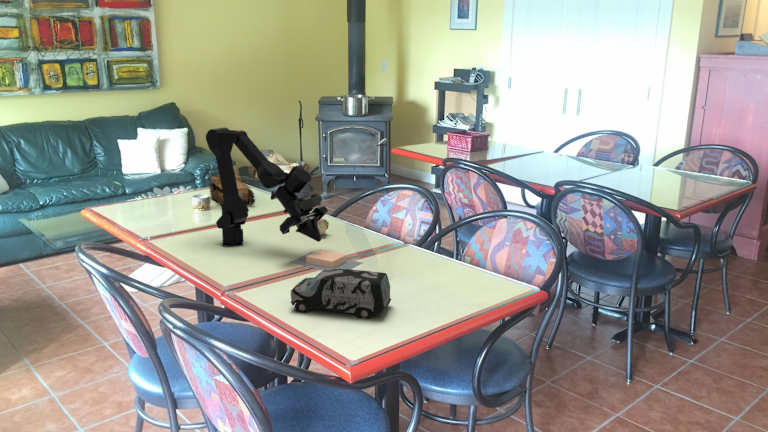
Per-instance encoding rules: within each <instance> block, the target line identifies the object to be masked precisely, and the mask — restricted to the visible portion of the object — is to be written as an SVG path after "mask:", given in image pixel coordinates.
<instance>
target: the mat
mask: <svg viewBox="0 0 768 432" xmlns="http://www.w3.org/2000/svg"><path fill="white" fill-rule="evenodd" d="M312 253H314V252H309V253H307V254H304V255H302V256H299V257H298V258H296V259H293V260H291V261H288V263H289V264H293V265H299V266H303V267H306V268H307V267H308V268H312V269H317V270H320V271H322V270H324V269H326V268H325V267H320V266H316V265H311V264H307V263H306V256H307V255H310V254H312ZM362 264H363V262H361V261H356V260H352V259H347V262H345V263H343V264H341V265H339V266H337V267H335V268H341V269H351V270H354V268H356V267H359V266H360V265H362Z"/></svg>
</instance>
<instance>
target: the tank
mask: <svg viewBox="0 0 768 432" xmlns="http://www.w3.org/2000/svg"><path fill="white" fill-rule="evenodd" d="M233 169H234V173H235V178H236V183H237V188H238V193H239V196H240V197H241V199H242V200H246V201H247V206H249V205H250V206H251V205H255V203H256V199H257V198H256V196H255V192H254V191H253V190H252V187H250V186H249V185H248V184H246V183H244V182H243V181H242V176H240V175H238V174H236V165H233ZM210 182H211V183H210V184H209V190H210V191H209V192H210V193H209V194H210V198H211V200H216V201H217V202H216V203H218V202H219V203H220V204H221V205H220V206H222V204H223V201H224V195H223V190H222V185H221V180H220V176H219V174H216V175H213V176H210Z"/></svg>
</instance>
